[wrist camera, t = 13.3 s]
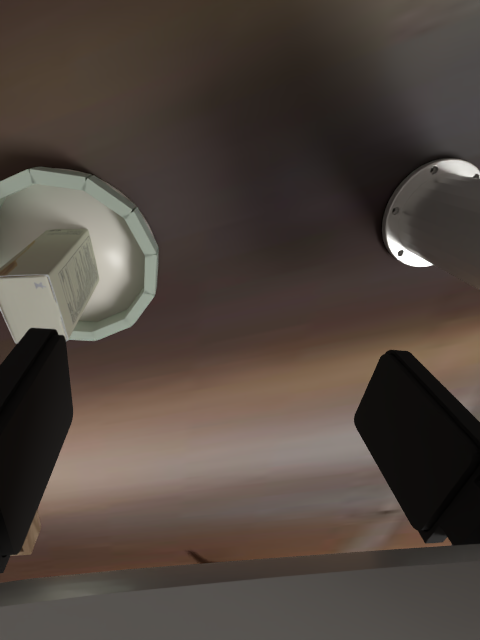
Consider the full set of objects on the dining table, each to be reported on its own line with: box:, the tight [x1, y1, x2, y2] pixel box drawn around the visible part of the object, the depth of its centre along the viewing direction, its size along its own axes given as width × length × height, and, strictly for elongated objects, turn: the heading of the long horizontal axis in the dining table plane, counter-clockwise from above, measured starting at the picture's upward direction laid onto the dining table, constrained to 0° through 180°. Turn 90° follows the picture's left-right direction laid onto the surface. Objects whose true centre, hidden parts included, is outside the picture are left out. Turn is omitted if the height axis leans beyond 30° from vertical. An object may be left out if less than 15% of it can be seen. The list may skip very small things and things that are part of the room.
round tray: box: [0, 166, 159, 341], centre depth 36 cm, size 18×18×3 cm
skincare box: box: [0, 229, 99, 343], centre depth 31 cm, size 6×4×12 cm
